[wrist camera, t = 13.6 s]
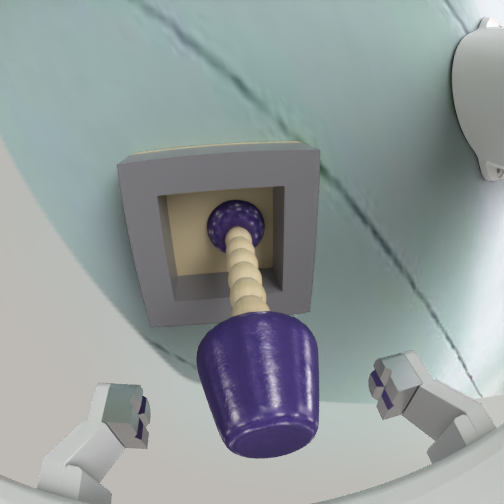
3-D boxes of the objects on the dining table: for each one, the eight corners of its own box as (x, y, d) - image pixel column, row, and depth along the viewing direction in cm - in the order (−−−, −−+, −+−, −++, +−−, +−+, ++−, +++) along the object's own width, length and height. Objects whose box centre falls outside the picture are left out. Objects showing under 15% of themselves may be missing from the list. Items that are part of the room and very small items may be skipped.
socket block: (298, 141, 21) (320, 150, 17) (294, 280, 27) (309, 312, 23) (134, 153, 20) (117, 164, 16) (157, 293, 25) (151, 327, 21)
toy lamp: (237, 266, 24) (281, 475, 9) (186, 236, 22) (172, 456, 8) (275, 219, 23) (380, 412, 8) (224, 184, 21) (272, 379, 6)
